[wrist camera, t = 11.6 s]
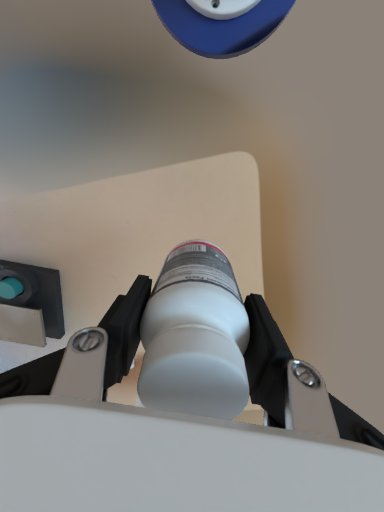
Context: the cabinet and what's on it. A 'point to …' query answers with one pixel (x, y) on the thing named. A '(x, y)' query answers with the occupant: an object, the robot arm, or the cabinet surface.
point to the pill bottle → (195, 336)
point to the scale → (38, 293)
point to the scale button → (10, 288)
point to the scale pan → (22, 324)
